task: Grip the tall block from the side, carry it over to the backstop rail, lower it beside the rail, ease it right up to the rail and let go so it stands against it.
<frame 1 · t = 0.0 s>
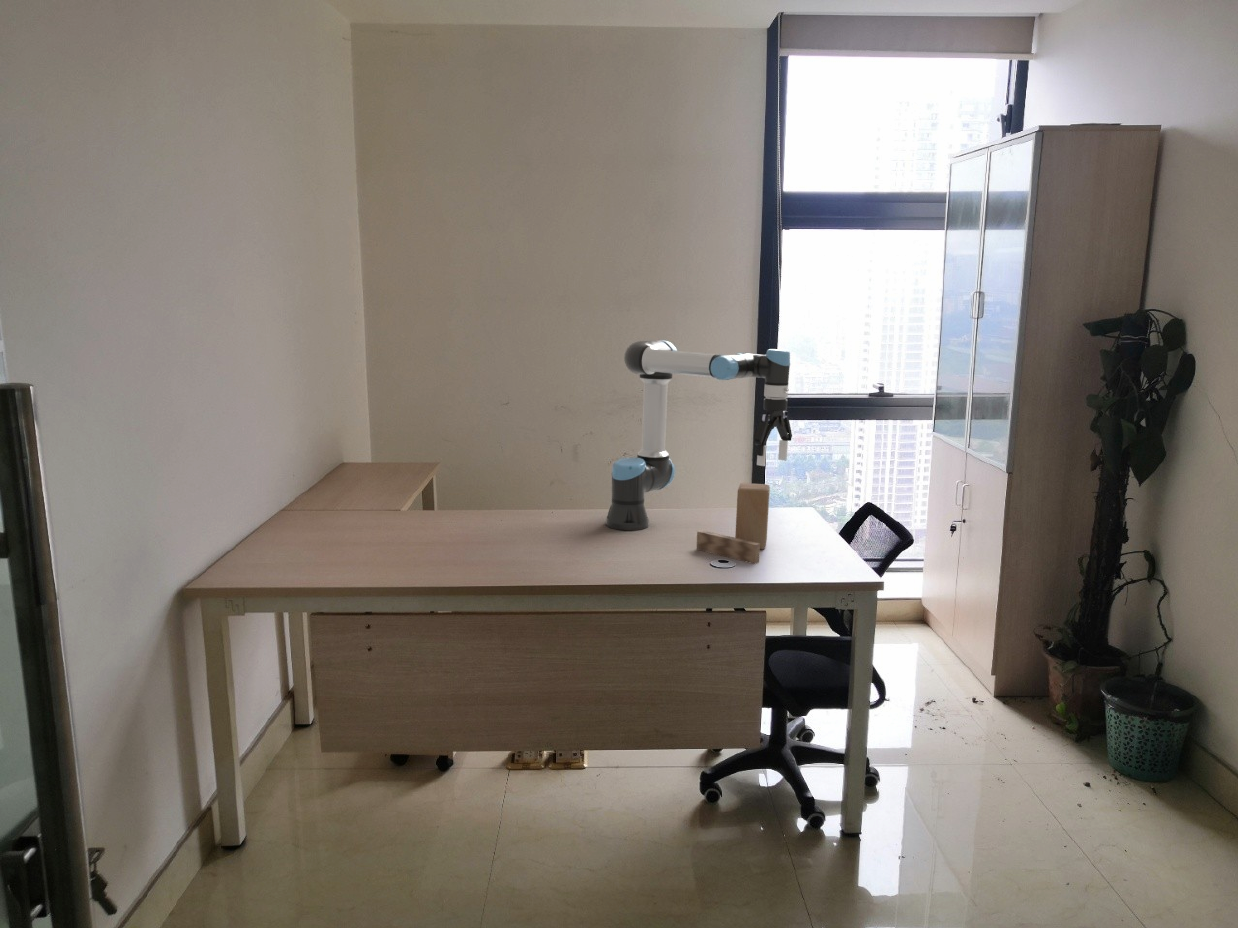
hand: (771, 462, 291), 28 cm above the table, tool pointing down, fingers open, 13 cm apart
block: (750, 545, 297), on the table
backstop: (727, 555, 284), on the table
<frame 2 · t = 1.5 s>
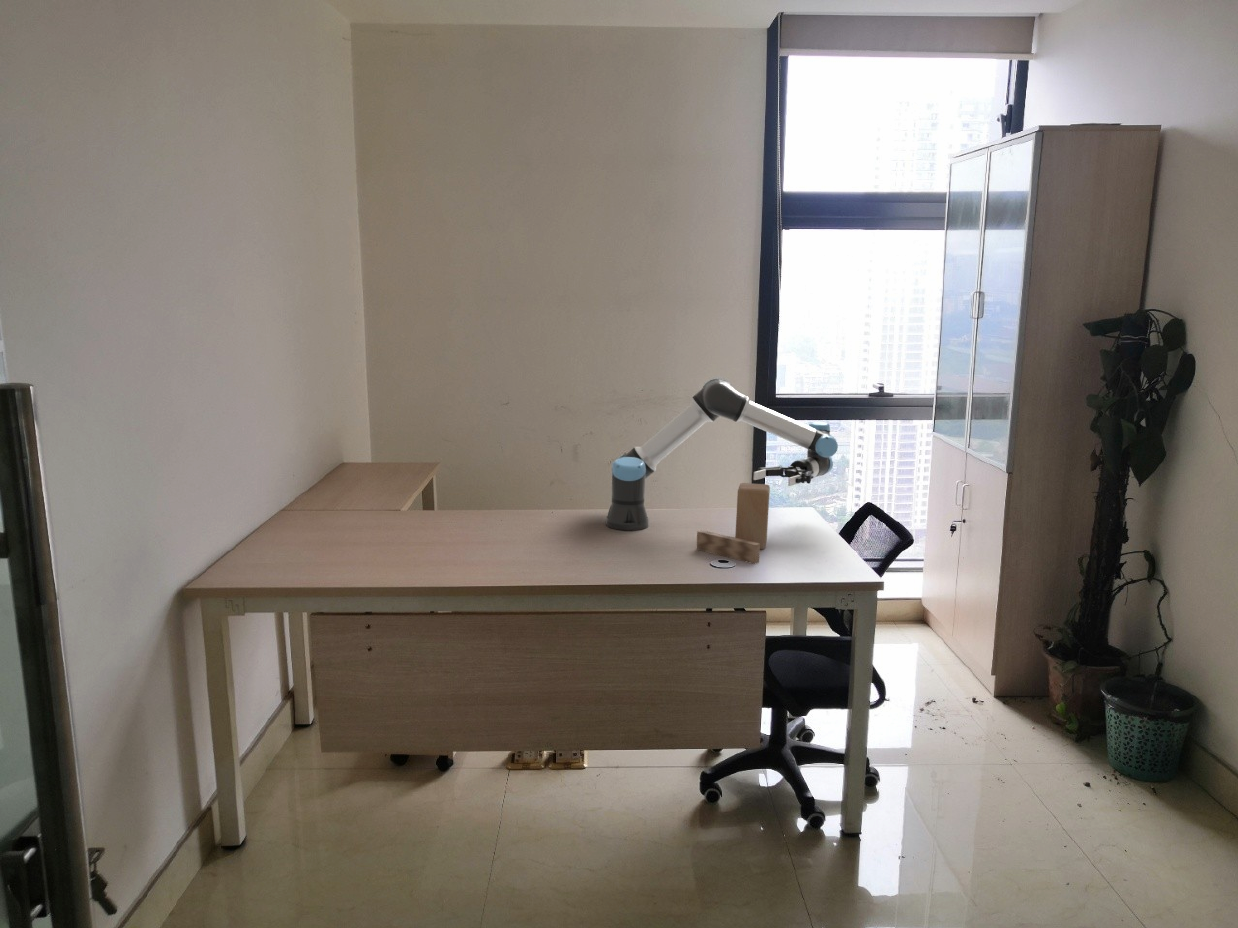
hand: (771, 479, 301), 21 cm above the table, tool horizontal, fingers open, 13 cm apart
nothing on the table moved.
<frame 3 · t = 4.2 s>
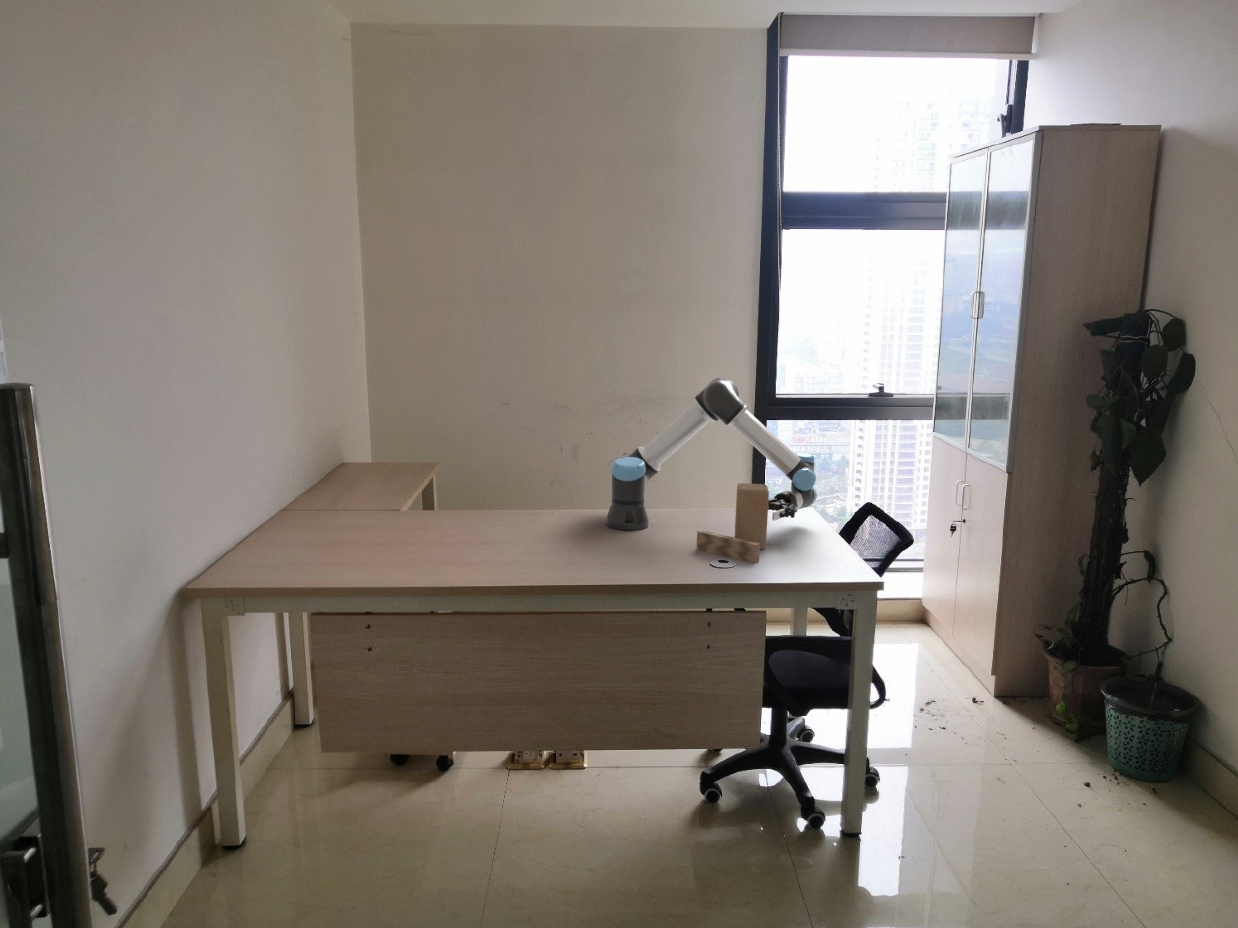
hand: (755, 512, 296), 11 cm above the table, tool horizontal, fingers open, 13 cm apart
block: (749, 545, 296), on the table, touching gripper
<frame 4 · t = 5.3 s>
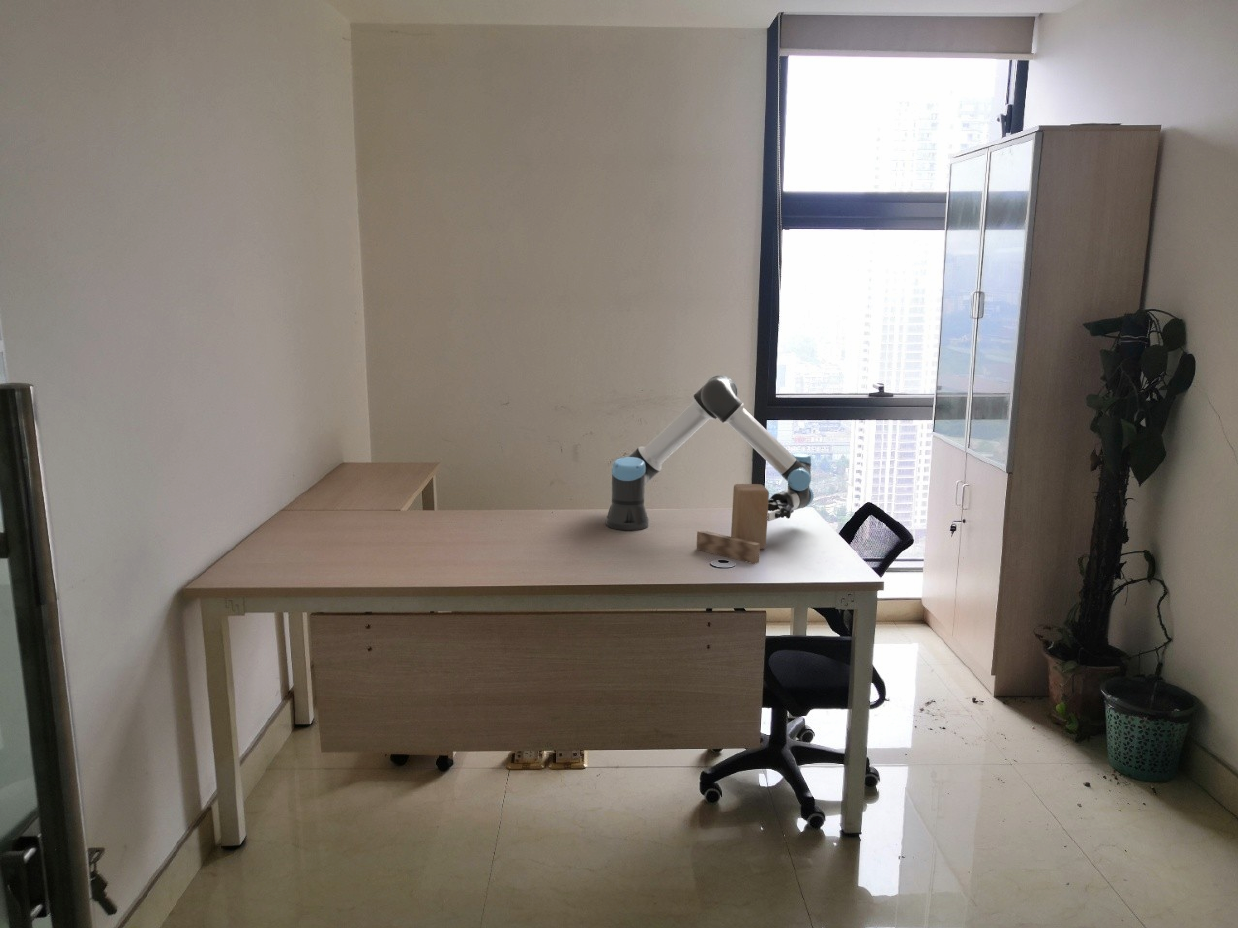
hand: (751, 513, 294), 11 cm above the table, tool horizontal, fingers closed on block, 13 cm apart
block: (747, 546, 296), on the table, touching gripper
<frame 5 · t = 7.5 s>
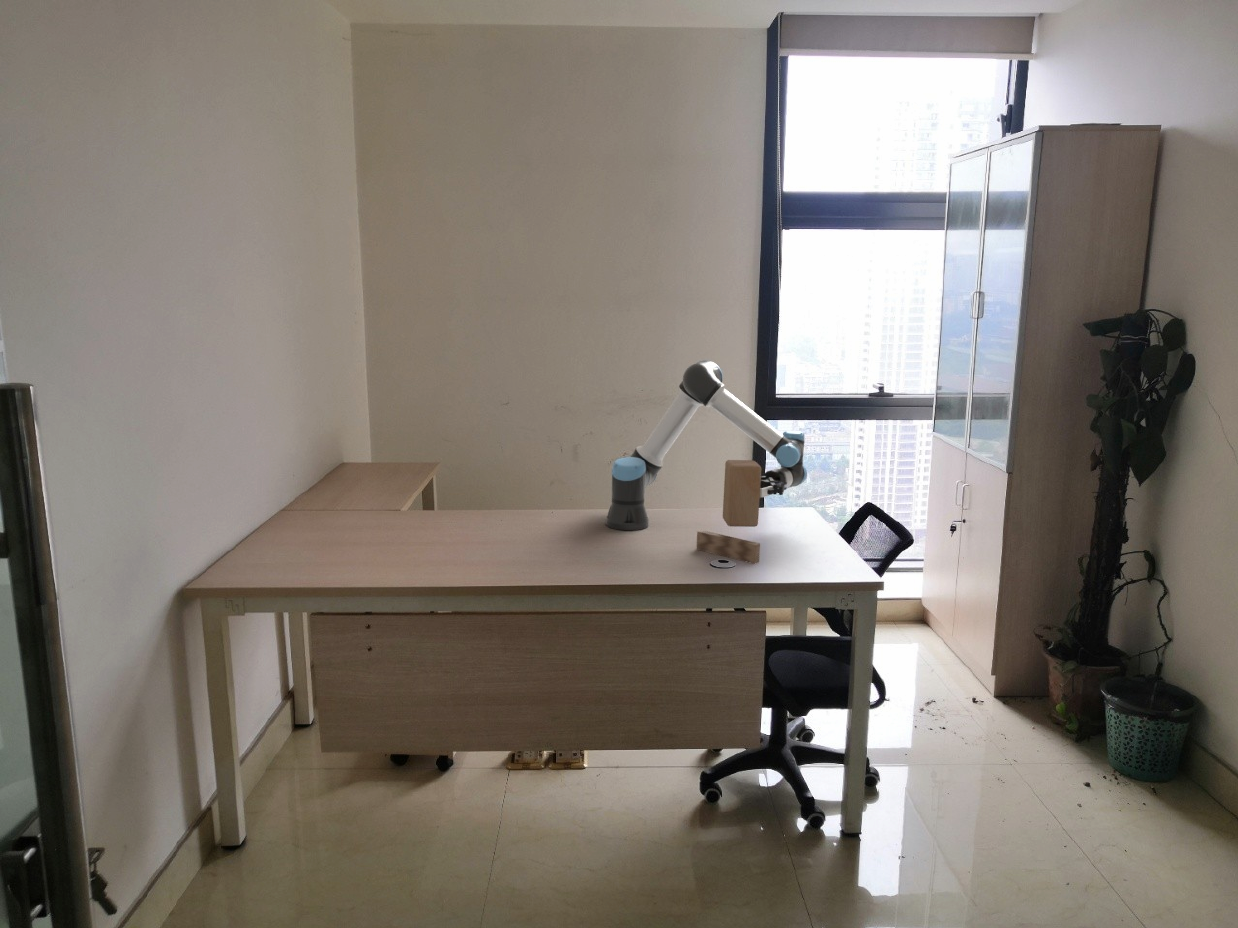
hand: (743, 489, 288), 20 cm above the table, tool horizontal, fingers closed on block, 13 cm apart
block: (739, 523, 289), point 9 cm above the table, touching gripper
when the fingers open (12 cm above the table, at t = 10.0 s): block drops 1 cm, on the table.
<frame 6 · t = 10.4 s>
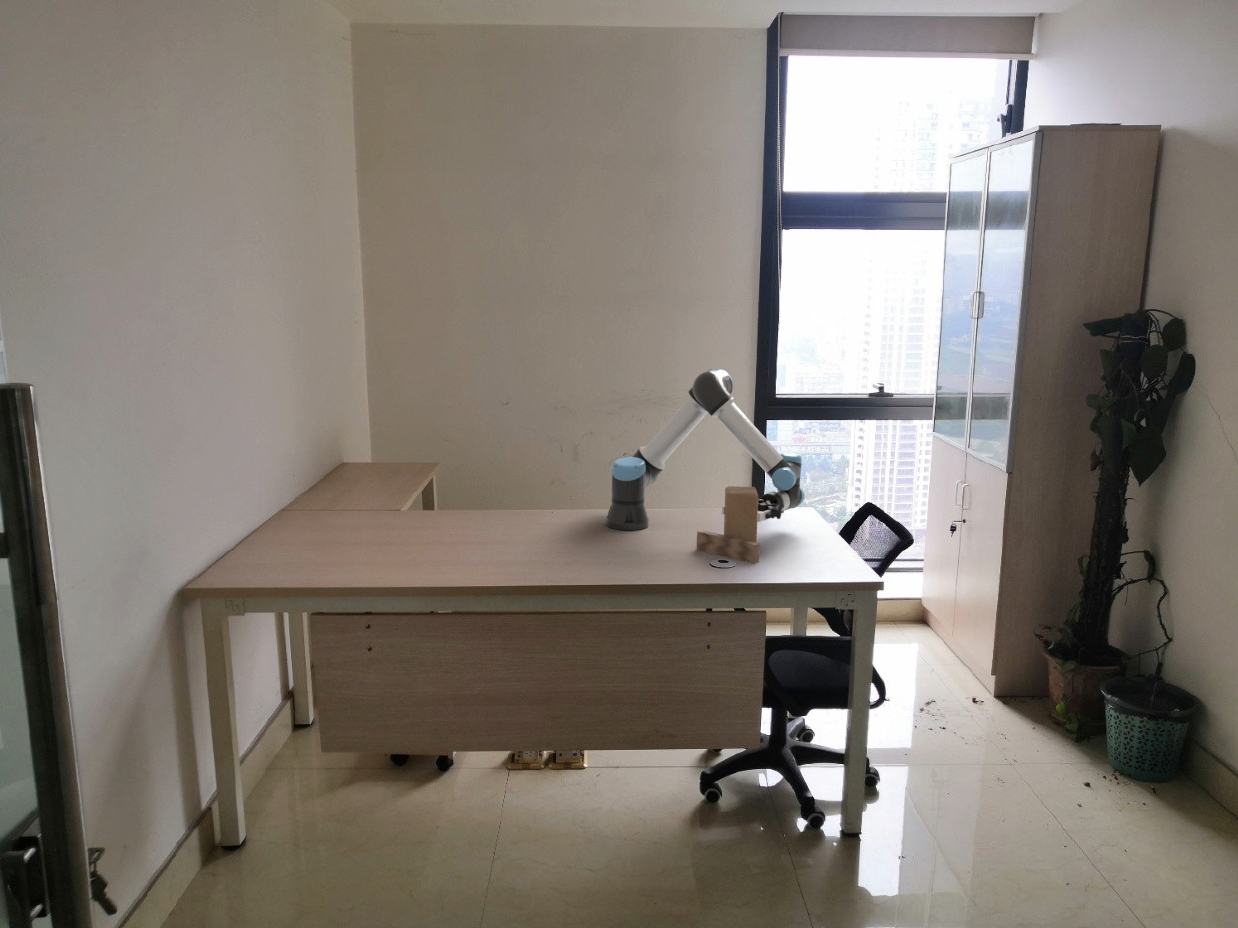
hand: (740, 513, 289), 12 cm above the table, tool horizontal, fingers open, 13 cm apart
block: (739, 549, 291), on the table, touching gripper
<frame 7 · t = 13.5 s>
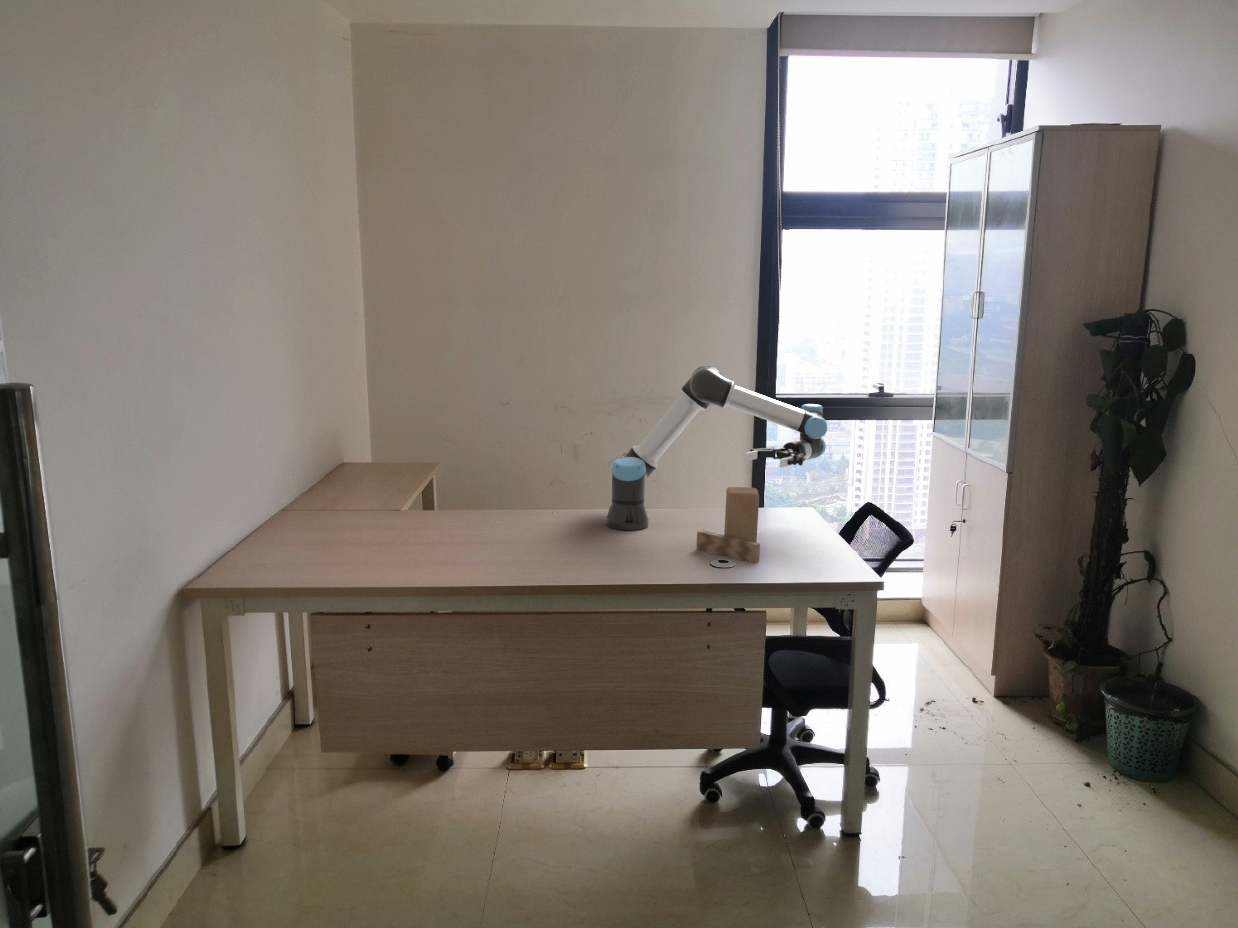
hand: (763, 460, 296), 28 cm above the table, tool horizontal, fingers open, 13 cm apart
block: (739, 550, 291), on the table
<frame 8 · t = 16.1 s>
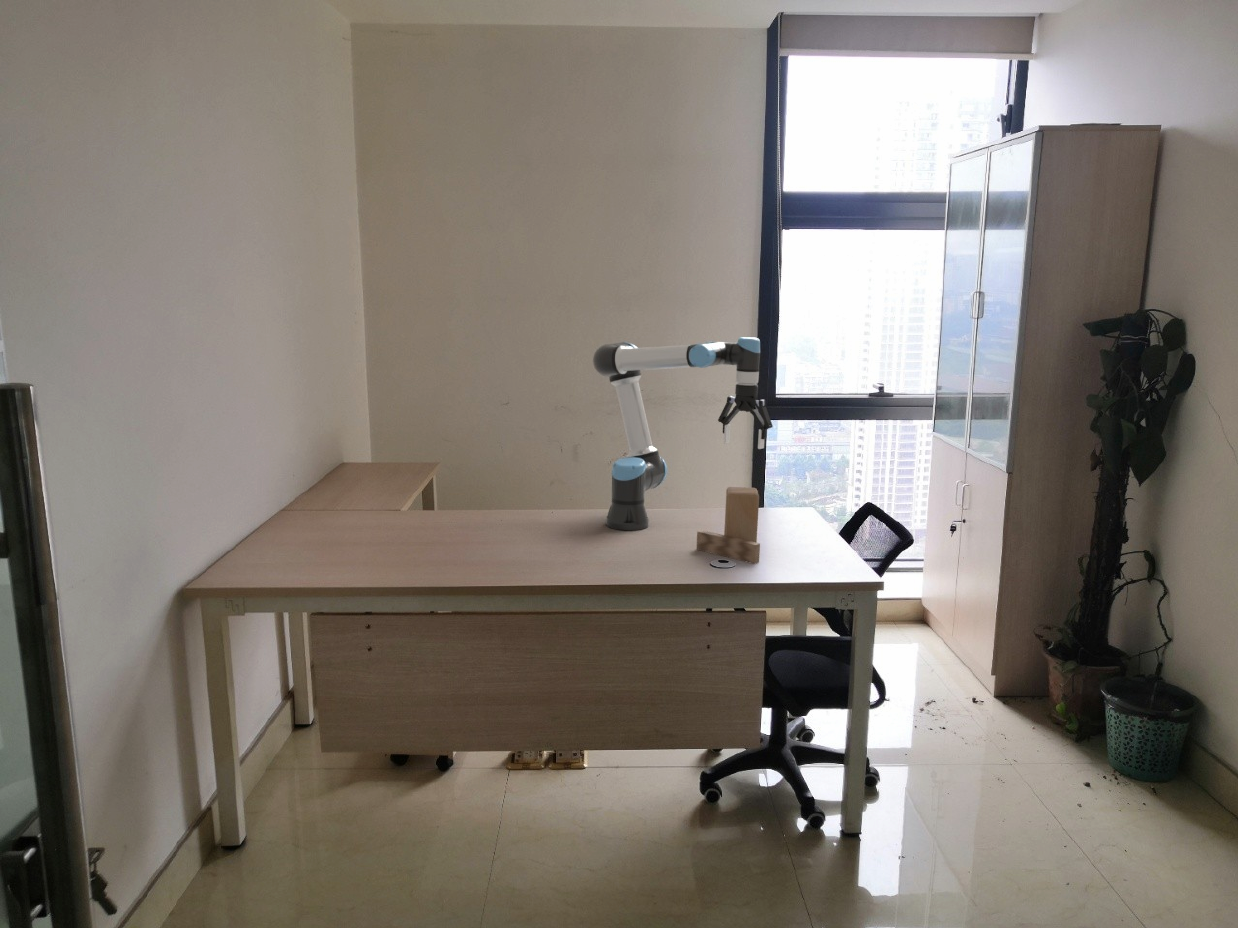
hand: (743, 445, 305), 31 cm above the table, tool pointing down, fingers open, 13 cm apart
nothing on the table moved.
at the end: block inside the target area (0.8 cm from its centre), on the table; block tilted 0°; the gripper is holding nothing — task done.
